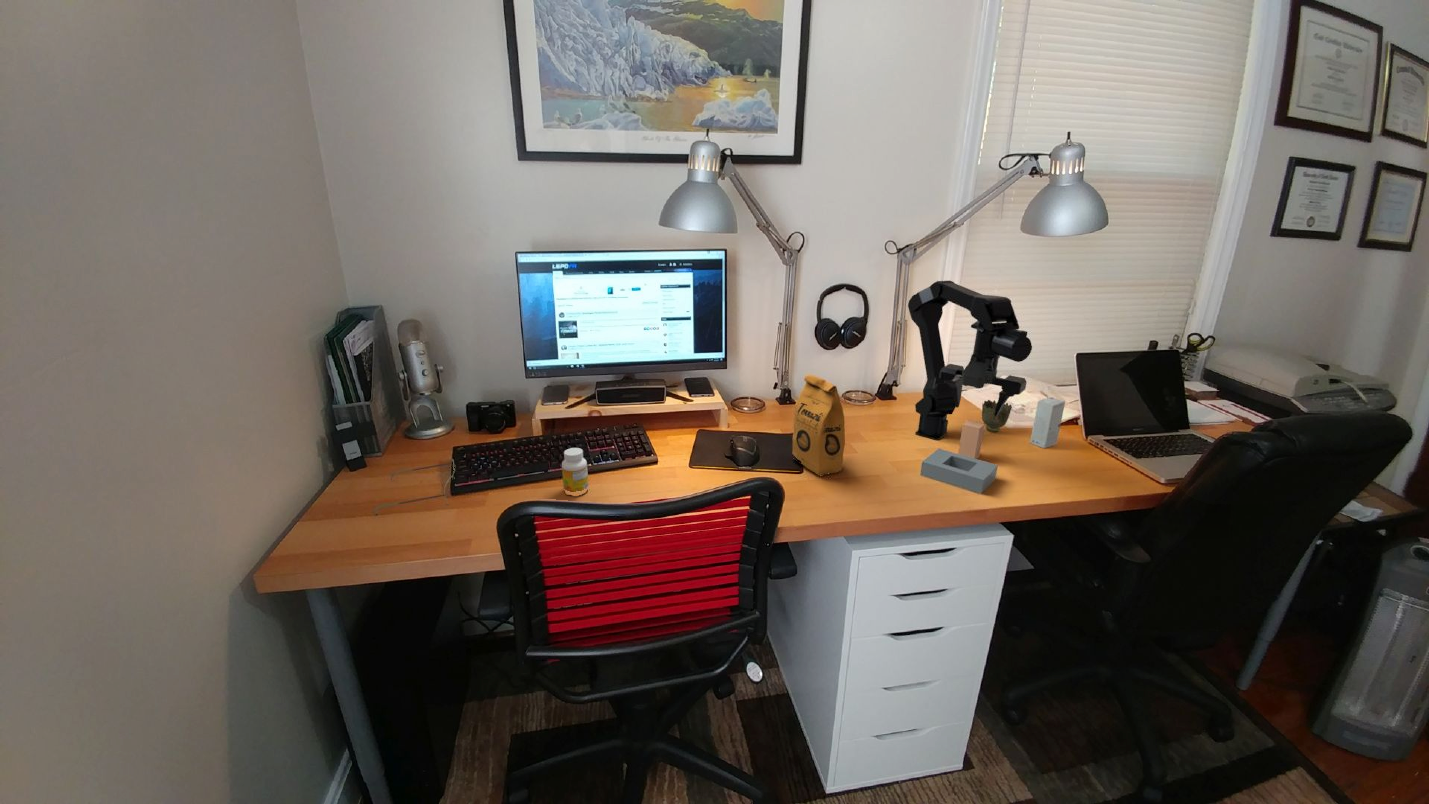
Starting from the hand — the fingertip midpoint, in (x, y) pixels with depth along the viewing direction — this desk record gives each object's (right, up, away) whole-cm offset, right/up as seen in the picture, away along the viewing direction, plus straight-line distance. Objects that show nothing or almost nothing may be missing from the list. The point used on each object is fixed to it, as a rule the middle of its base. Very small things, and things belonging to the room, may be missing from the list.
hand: (976, 411), depth 147 cm
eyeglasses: (-129, -18, -15) cm, 131 cm away
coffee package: (-39, -13, -1) cm, 42 cm away
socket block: (-7, -15, -6) cm, 18 cm away
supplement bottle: (-95, -18, -14) cm, 98 cm away
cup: (+14, -6, +21) cm, 25 cm away
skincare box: (+23, -9, +13) cm, 28 cm away
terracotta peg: (0, -12, +4) cm, 12 cm away
